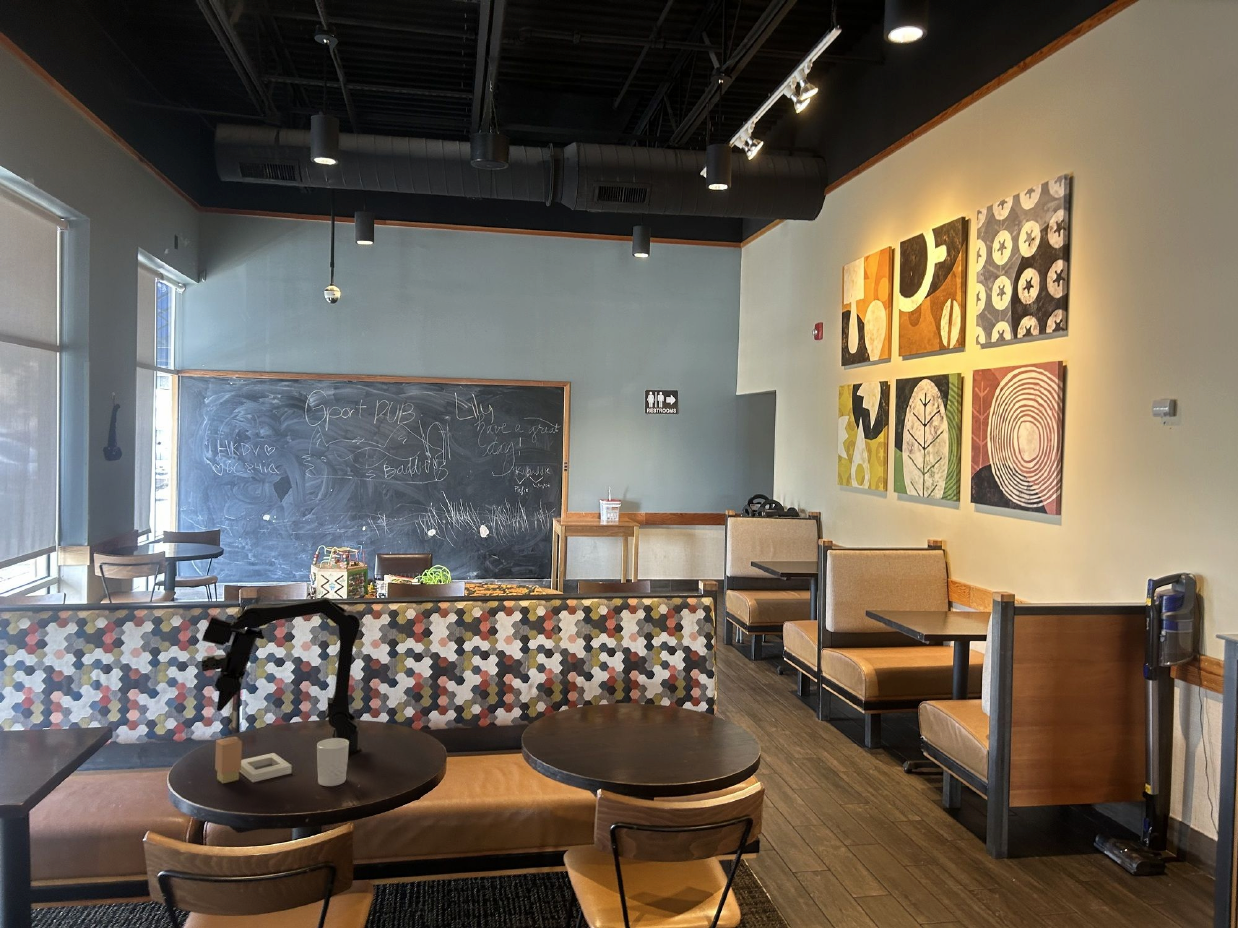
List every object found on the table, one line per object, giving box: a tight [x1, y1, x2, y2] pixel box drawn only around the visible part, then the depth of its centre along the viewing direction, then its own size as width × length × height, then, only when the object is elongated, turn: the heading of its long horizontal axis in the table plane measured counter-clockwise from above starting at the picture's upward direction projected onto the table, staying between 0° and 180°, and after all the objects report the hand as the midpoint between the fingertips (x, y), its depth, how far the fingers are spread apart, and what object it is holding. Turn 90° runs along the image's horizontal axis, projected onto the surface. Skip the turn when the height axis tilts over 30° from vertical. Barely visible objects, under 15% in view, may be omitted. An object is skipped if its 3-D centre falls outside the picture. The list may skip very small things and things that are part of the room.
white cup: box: [316, 737, 349, 787], centre depth 220 cm, size 8×8×10 cm
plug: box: [214, 736, 243, 784], centre depth 219 cm, size 5×5×10 cm
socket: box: [239, 752, 292, 783], centre depth 225 cm, size 10×12×2 cm
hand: (220, 705), depth 230 cm, fingers open, 9 cm apart
